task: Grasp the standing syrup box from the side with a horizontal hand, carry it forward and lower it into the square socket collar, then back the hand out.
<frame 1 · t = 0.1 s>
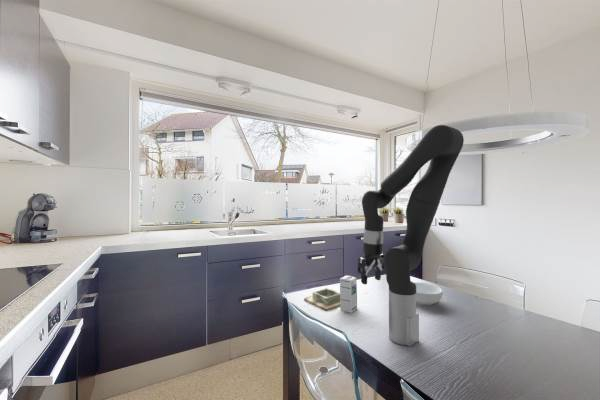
hand: (371, 281, 105), 17 cm above the table, tool pointing down, fingers open, 8 cm apart
cereal bowl: (422, 302, 128), on the table
socket: (327, 301, 130), on the table
syrup box: (348, 309, 121), on the table
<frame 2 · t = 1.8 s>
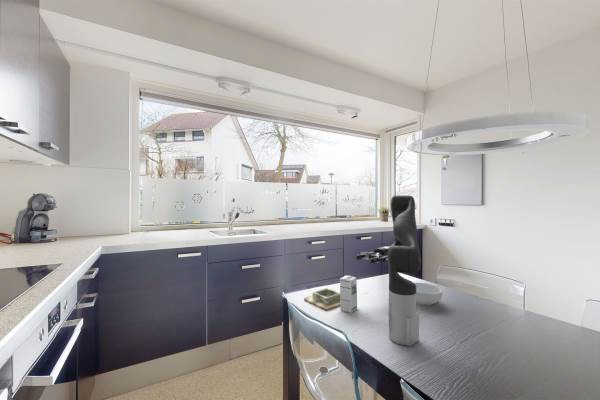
hand: (363, 259, 127), 21 cm above the table, tool horizontal, fingers open, 8 cm apart
nothing on the table moved.
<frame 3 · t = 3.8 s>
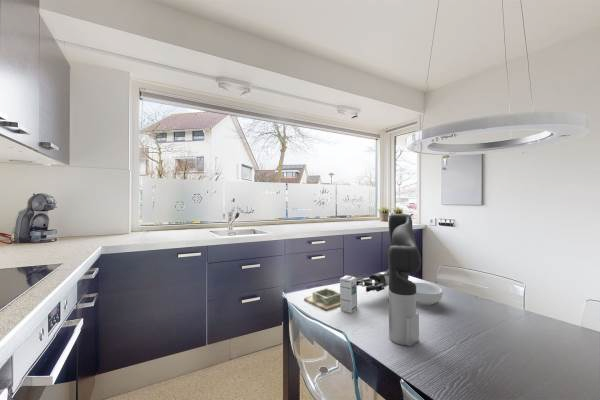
hand: (359, 287, 125), 8 cm above the table, tool horizontal, fingers open, 8 cm apart
nothing on the table moved.
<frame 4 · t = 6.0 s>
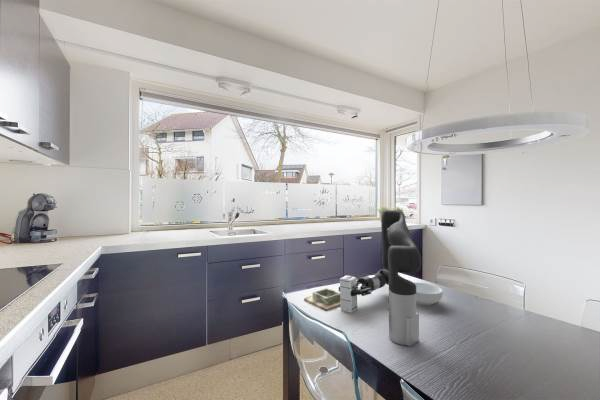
hand: (345, 291, 119), 9 cm above the table, tool horizontal, fingers closed on syrup box, 6 cm apart
syrup box: (348, 309, 121), on the table, touching gripper
everything else where it was.
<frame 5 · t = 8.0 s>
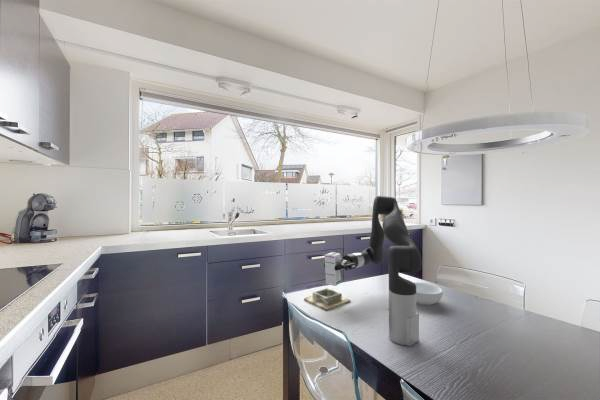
hand: (329, 266, 126), 18 cm above the table, tool horizontal, fingers closed on syrup box, 6 cm apart
syrup box: (333, 283, 128), point 9 cm above the table, touching gripper
everything else where it was.
when the fingers open (11 cm above the table, at t = 10.2 s): syrup box drops 1 cm, resting on socket.
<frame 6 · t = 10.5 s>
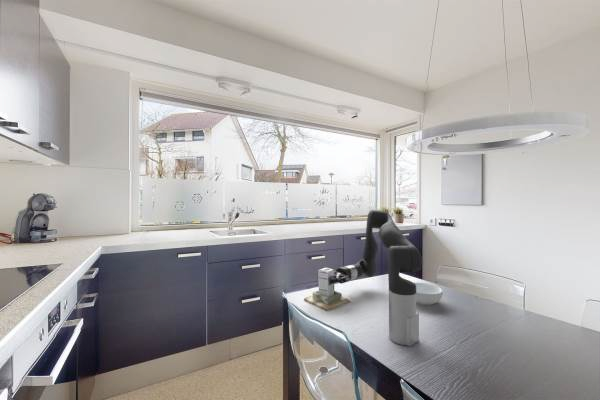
hand: (324, 279, 129), 11 cm above the table, tool horizontal, fingers open, 8 cm apart
syrup box: (326, 298, 131), point 1 cm above the table, touching socket
everything else where it was.
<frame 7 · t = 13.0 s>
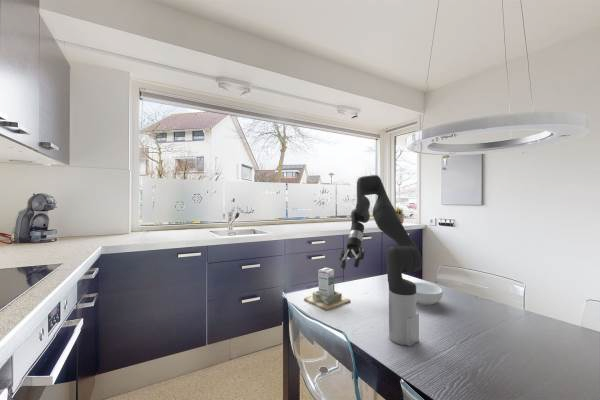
hand: (349, 267, 135), 15 cm above the table, tool tilted 40°, fingers open, 8 cm apart
nothing on the table moved.
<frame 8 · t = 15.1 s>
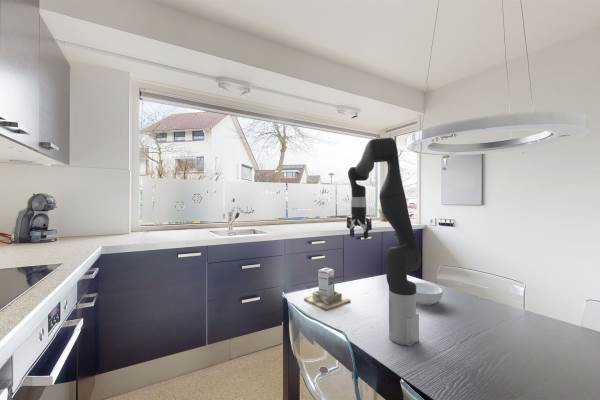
hand: (358, 237, 136), 30 cm above the table, tool pointing down, fingers open, 8 cm apart
nothing on the table moved.
at the end: syrup box 0.6 cm off-centre on the socket, point 0.8 cm above the socket's base; syrup box tilted 0°; the gripper is holding nothing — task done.
